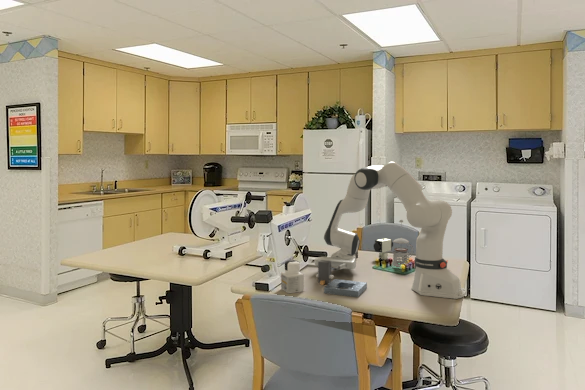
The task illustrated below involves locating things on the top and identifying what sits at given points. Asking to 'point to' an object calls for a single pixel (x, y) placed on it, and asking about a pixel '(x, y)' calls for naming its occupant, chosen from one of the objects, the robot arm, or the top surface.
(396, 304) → the top surface
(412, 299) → the top surface
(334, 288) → the plate
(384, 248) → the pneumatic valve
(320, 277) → the block
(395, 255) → the french press
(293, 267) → the container
